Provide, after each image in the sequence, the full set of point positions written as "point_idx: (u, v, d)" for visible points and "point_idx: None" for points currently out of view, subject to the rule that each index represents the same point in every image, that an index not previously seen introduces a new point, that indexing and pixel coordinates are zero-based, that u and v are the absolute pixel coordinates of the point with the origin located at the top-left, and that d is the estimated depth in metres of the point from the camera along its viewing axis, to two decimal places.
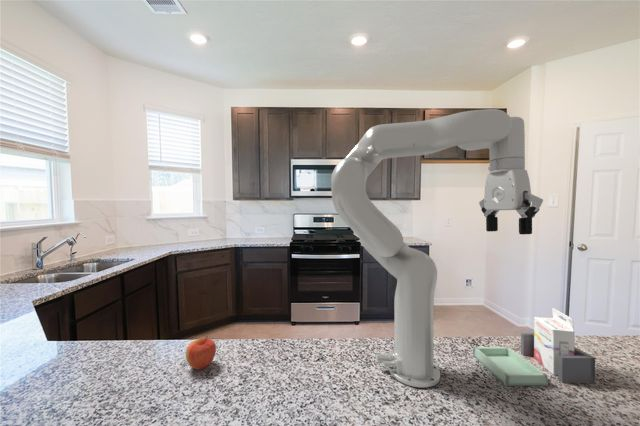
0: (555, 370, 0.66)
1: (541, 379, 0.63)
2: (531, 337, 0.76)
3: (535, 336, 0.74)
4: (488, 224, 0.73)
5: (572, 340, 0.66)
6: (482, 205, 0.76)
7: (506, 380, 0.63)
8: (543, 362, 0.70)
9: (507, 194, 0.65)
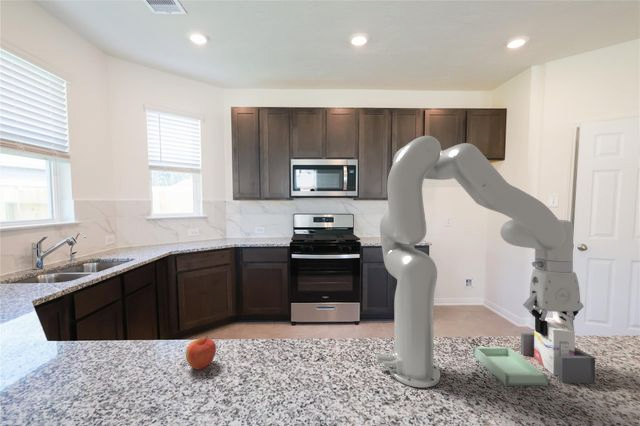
0: (555, 370, 0.66)
1: (541, 379, 0.63)
2: (531, 337, 0.76)
3: (535, 336, 0.74)
4: (546, 328, 0.69)
5: (572, 340, 0.66)
6: (531, 308, 0.69)
7: (506, 380, 0.63)
8: (543, 362, 0.70)
9: (573, 296, 0.67)
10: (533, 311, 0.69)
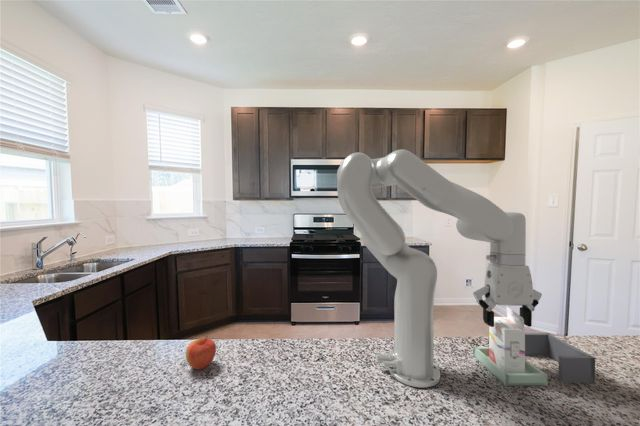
0: (506, 371, 0.65)
1: (541, 379, 0.63)
2: (531, 337, 0.76)
3: (490, 336, 0.73)
4: None
5: (523, 340, 0.65)
6: (480, 298, 0.68)
7: (506, 380, 0.63)
8: (496, 362, 0.69)
9: (525, 290, 0.66)
10: (480, 302, 0.68)
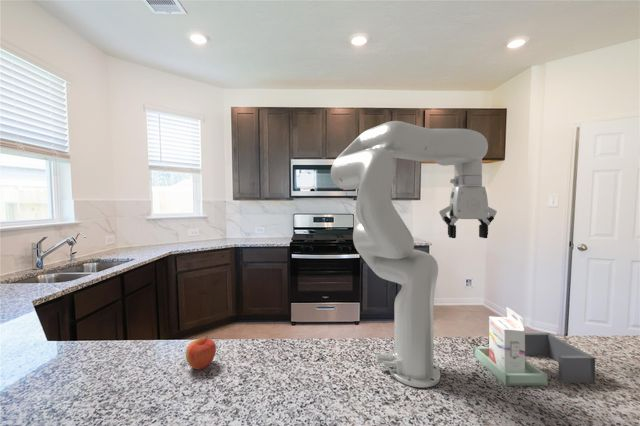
0: (506, 371, 0.65)
1: (541, 379, 0.63)
2: (531, 337, 0.76)
3: (490, 336, 0.73)
4: None
5: (523, 340, 0.65)
6: (444, 214, 0.81)
7: (506, 380, 0.63)
8: (496, 362, 0.69)
9: (481, 206, 0.79)
10: (444, 217, 0.81)
